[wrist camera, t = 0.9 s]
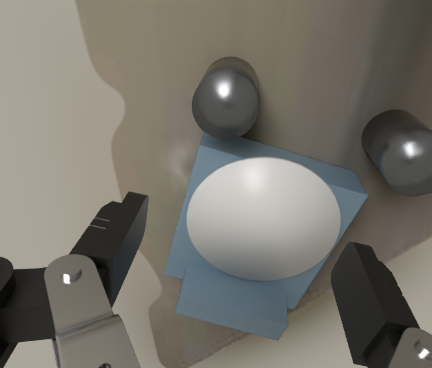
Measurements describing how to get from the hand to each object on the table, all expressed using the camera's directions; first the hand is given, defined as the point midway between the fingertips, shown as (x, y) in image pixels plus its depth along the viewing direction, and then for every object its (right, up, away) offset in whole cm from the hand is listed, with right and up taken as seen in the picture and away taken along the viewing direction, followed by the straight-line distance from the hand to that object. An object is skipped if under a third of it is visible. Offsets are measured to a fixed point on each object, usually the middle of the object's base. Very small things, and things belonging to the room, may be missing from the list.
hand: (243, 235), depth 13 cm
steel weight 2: (+14, +6, +14) cm, 21 cm away
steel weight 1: (0, +10, +13) cm, 17 cm away
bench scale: (+3, -1, +20) cm, 20 cm away
